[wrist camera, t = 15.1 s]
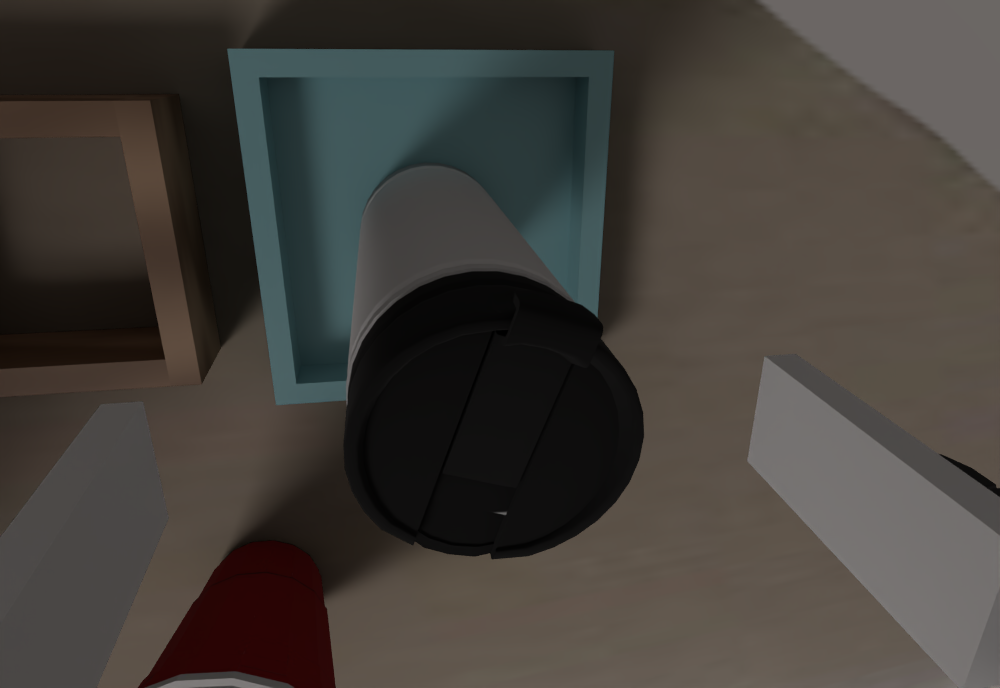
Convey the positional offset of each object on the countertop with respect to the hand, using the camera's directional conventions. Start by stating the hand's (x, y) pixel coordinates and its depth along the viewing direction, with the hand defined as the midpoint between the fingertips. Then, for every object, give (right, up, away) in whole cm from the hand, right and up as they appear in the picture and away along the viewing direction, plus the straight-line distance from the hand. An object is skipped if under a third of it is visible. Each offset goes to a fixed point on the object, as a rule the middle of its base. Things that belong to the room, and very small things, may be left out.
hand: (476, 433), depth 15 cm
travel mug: (-3, +7, +17) cm, 19 cm away
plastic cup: (-13, -11, +24) cm, 30 cm away
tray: (-3, +8, +18) cm, 20 cm away
